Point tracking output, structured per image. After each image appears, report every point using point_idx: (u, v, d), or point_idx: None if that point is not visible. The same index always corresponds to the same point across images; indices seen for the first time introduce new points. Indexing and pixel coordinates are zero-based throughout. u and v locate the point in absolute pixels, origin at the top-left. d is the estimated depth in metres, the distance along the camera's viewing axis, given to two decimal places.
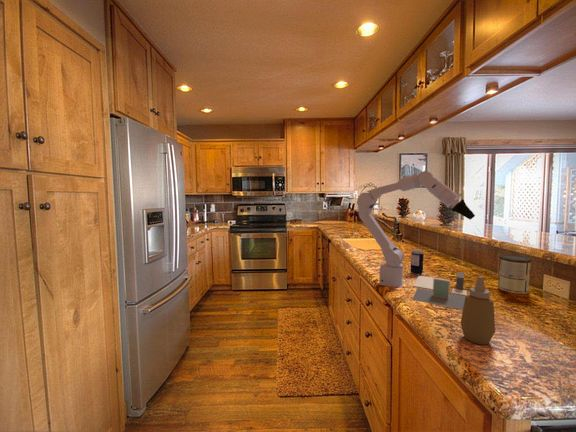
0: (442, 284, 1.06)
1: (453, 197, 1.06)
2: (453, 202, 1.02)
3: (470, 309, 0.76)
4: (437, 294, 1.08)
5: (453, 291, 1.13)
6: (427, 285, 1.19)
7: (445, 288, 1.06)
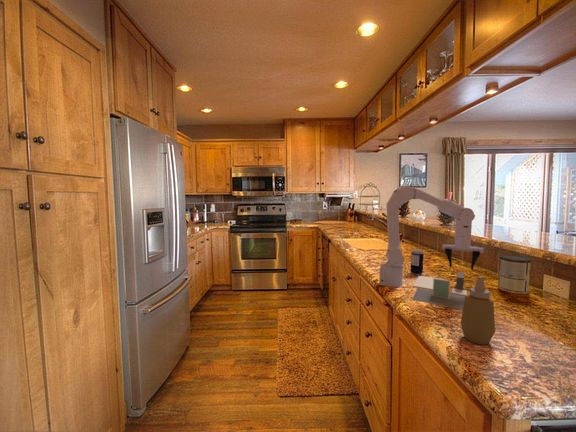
0: (442, 284, 1.06)
1: None
2: None
3: (470, 309, 0.76)
4: (437, 294, 1.08)
5: (453, 291, 1.13)
6: (427, 285, 1.19)
7: (445, 288, 1.06)
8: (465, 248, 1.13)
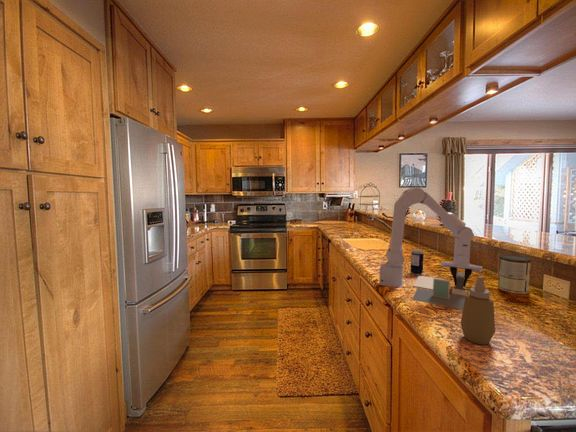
0: (442, 284, 1.06)
1: None
2: (481, 268, 1.13)
3: (470, 309, 0.76)
4: (437, 294, 1.08)
5: (453, 291, 1.13)
6: (427, 285, 1.19)
7: (445, 288, 1.06)
8: (464, 267, 1.14)
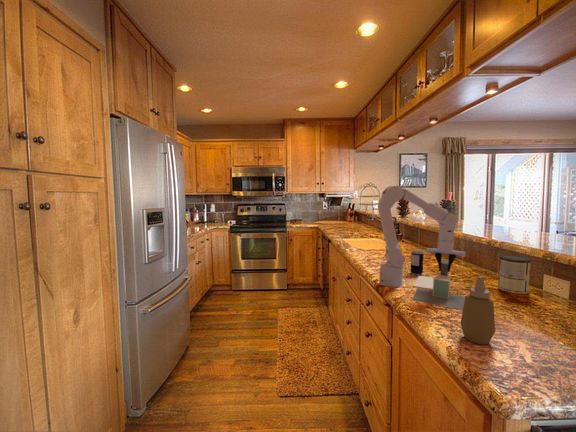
0: (442, 284, 1.06)
1: None
2: None
3: (470, 309, 0.76)
4: (437, 294, 1.08)
5: (437, 277, 1.16)
6: (427, 285, 1.19)
7: (445, 288, 1.06)
8: (448, 252, 1.17)
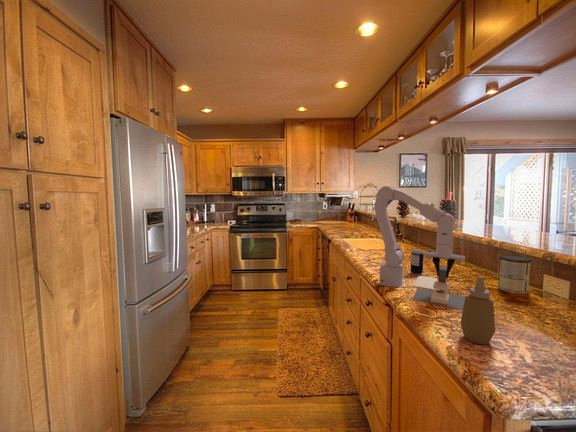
0: None
1: None
2: None
3: (470, 309, 0.76)
4: None
5: (435, 284, 1.08)
6: (427, 285, 1.19)
7: None
8: (446, 256, 1.08)
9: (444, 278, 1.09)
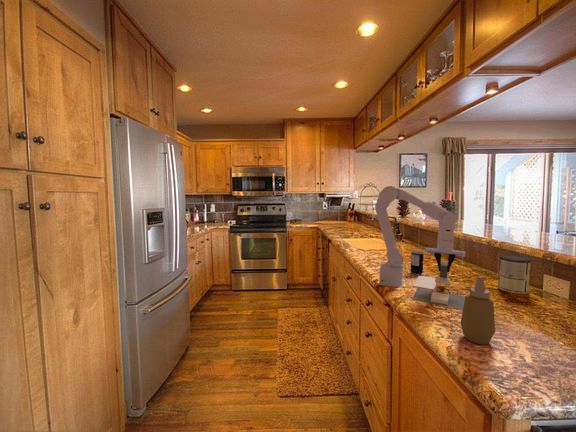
0: None
1: None
2: None
3: (470, 309, 0.76)
4: None
5: (436, 279, 1.13)
6: (427, 285, 1.19)
7: None
8: (447, 252, 1.13)
9: (445, 273, 1.15)
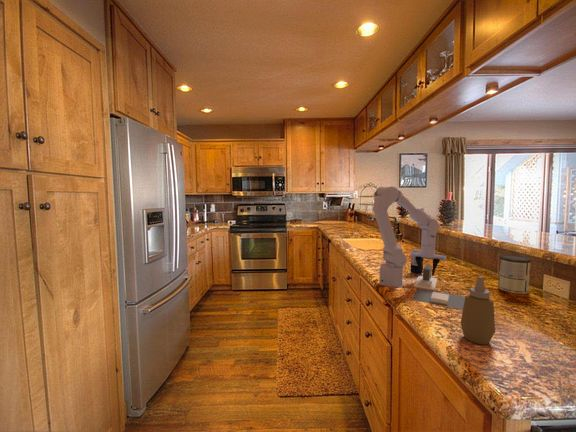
0: None
1: None
2: None
3: (470, 309, 0.76)
4: None
5: (419, 282, 1.21)
6: None
7: None
8: (429, 256, 1.22)
9: (427, 276, 1.23)
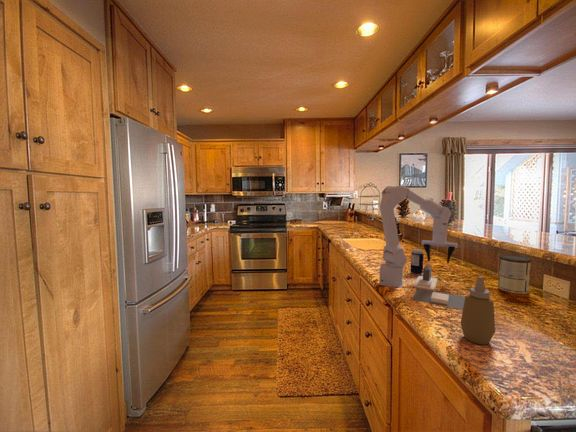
0: None
1: None
2: (457, 245, 1.22)
3: (470, 309, 0.76)
4: None
5: (419, 282, 1.21)
6: None
7: None
8: (441, 243, 1.23)
9: (427, 276, 1.23)
